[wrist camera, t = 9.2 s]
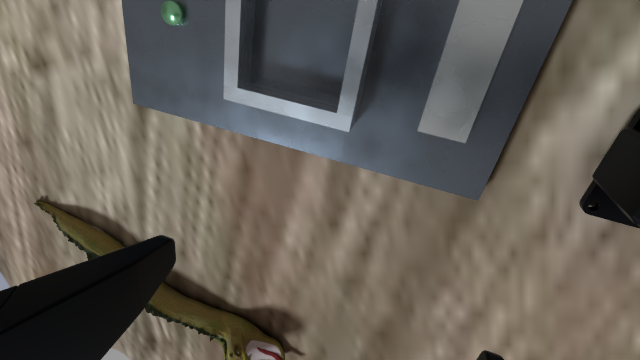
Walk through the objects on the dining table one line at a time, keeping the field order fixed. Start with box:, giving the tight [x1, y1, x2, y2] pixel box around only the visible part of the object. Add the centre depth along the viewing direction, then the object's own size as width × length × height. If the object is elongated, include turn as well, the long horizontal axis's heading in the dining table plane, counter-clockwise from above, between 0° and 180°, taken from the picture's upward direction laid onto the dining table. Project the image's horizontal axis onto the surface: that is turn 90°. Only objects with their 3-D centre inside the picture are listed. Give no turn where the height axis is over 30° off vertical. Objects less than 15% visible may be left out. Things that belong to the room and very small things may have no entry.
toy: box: [34, 201, 285, 360], centre depth 29 cm, size 4×28×5 cm, turn 64°
